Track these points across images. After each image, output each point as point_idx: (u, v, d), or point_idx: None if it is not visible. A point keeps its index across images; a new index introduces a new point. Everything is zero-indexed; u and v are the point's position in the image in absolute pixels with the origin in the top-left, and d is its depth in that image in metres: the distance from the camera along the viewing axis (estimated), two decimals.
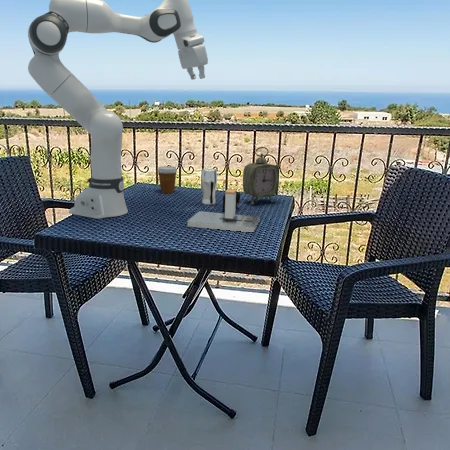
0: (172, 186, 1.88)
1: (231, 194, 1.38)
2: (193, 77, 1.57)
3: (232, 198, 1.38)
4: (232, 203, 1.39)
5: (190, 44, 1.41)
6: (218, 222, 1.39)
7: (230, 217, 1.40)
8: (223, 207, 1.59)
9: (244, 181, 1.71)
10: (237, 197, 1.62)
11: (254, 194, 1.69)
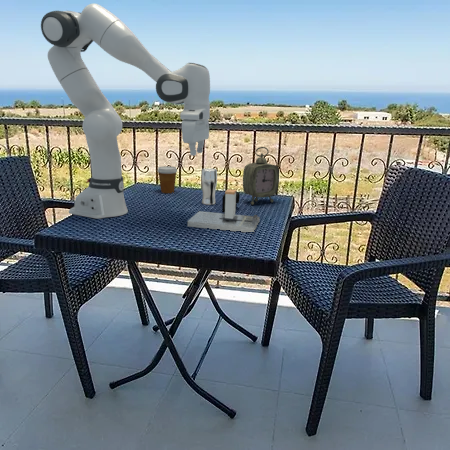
0: (172, 186, 1.88)
1: (231, 194, 1.38)
2: (198, 150, 1.41)
3: (232, 198, 1.38)
4: (232, 203, 1.39)
5: (181, 117, 1.27)
6: (218, 222, 1.39)
7: (230, 217, 1.40)
8: (222, 207, 1.59)
9: (244, 181, 1.71)
10: (236, 197, 1.62)
11: (254, 194, 1.69)
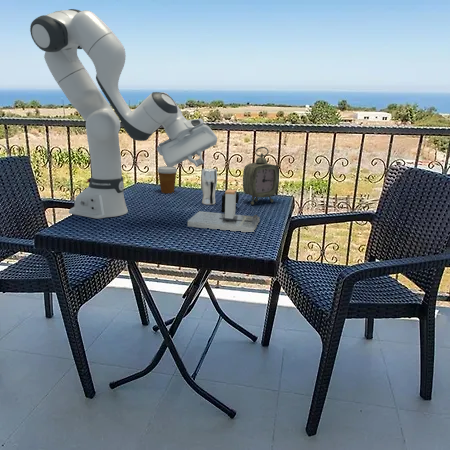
0: (172, 186, 1.88)
1: (231, 194, 1.38)
2: None
3: (232, 198, 1.38)
4: (232, 203, 1.39)
5: None
6: (218, 222, 1.39)
7: (230, 217, 1.40)
8: (222, 207, 1.59)
9: (244, 181, 1.71)
10: (236, 197, 1.62)
11: (254, 194, 1.69)
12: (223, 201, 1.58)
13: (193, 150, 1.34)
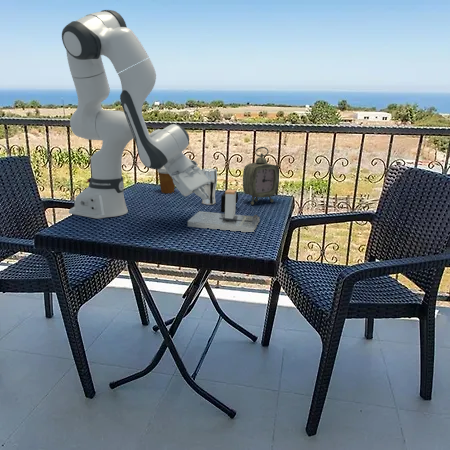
0: (172, 186, 1.88)
1: (231, 194, 1.38)
2: None
3: (232, 198, 1.38)
4: (232, 203, 1.39)
5: None
6: (218, 222, 1.39)
7: (230, 217, 1.40)
8: (221, 207, 1.59)
9: (244, 181, 1.71)
10: None
11: (254, 194, 1.69)
12: (222, 201, 1.58)
13: (200, 184, 1.39)
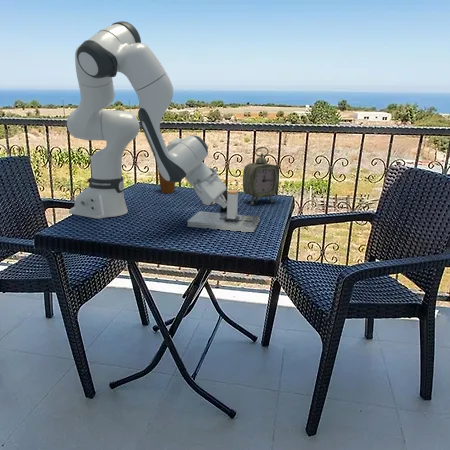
0: (172, 186, 1.88)
1: (233, 194, 1.37)
2: None
3: (234, 198, 1.38)
4: (234, 203, 1.38)
5: None
6: (218, 222, 1.39)
7: (232, 217, 1.40)
8: (221, 207, 1.59)
9: (244, 181, 1.71)
10: None
11: (254, 194, 1.69)
12: None
13: (220, 192, 1.40)
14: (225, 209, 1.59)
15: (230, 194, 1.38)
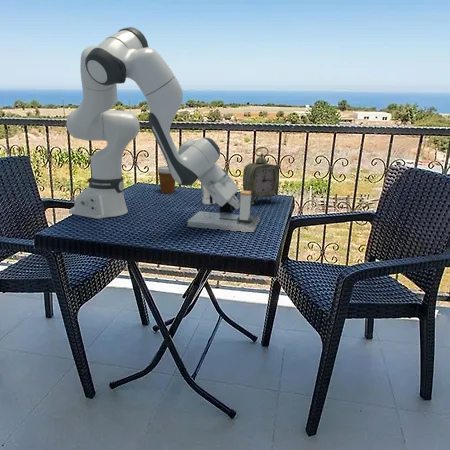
0: (172, 186, 1.88)
1: (246, 195, 1.36)
2: None
3: (247, 199, 1.37)
4: (247, 204, 1.37)
5: None
6: (218, 222, 1.39)
7: (245, 218, 1.39)
8: (220, 207, 1.59)
9: (244, 181, 1.71)
10: None
11: (254, 194, 1.69)
12: None
13: (233, 193, 1.40)
14: (225, 209, 1.59)
15: (243, 195, 1.37)
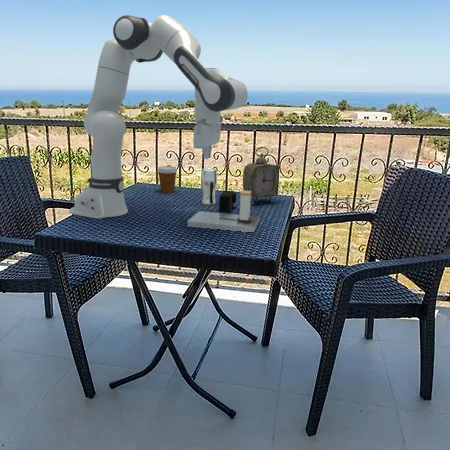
0: (172, 186, 1.88)
1: (246, 195, 1.36)
2: None
3: (247, 199, 1.37)
4: (247, 204, 1.37)
5: None
6: (218, 222, 1.39)
7: (245, 218, 1.39)
8: (220, 207, 1.59)
9: (244, 181, 1.71)
10: (233, 197, 1.63)
11: (254, 194, 1.69)
12: (221, 201, 1.58)
13: (212, 144, 1.37)
14: (224, 209, 1.59)
15: (243, 195, 1.37)
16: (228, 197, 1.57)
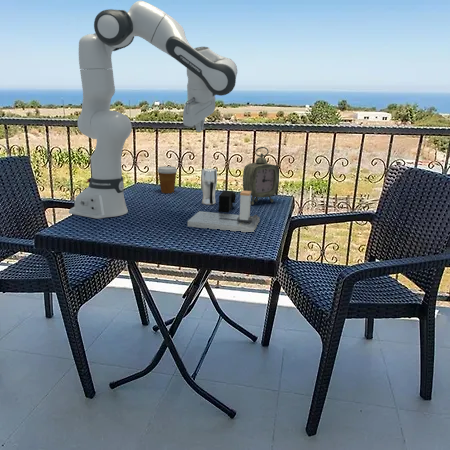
0: (172, 186, 1.88)
1: (246, 195, 1.36)
2: None
3: (247, 199, 1.37)
4: (247, 204, 1.37)
5: None
6: (218, 222, 1.39)
7: (245, 218, 1.39)
8: (219, 207, 1.59)
9: (244, 181, 1.71)
10: (233, 197, 1.63)
11: (254, 194, 1.69)
12: (220, 201, 1.58)
13: (203, 118, 1.48)
14: (223, 209, 1.59)
15: (243, 195, 1.37)
16: (227, 197, 1.57)
